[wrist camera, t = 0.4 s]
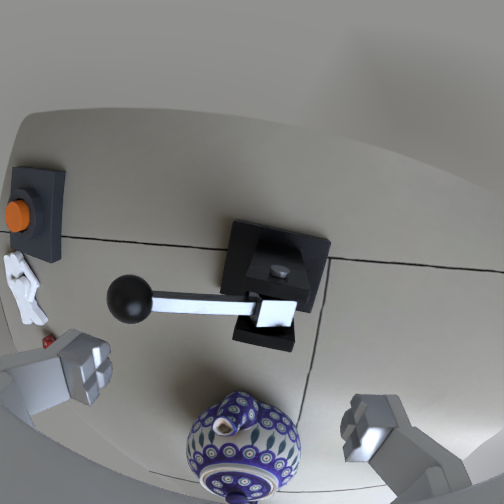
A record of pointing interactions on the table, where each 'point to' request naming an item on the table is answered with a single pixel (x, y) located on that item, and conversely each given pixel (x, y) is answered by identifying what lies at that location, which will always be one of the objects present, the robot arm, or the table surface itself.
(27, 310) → the white abstract figurine
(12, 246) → the control block
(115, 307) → the lever
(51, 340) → the die
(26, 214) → the button
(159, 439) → the table surface
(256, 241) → the bracket
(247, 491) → the teapot
